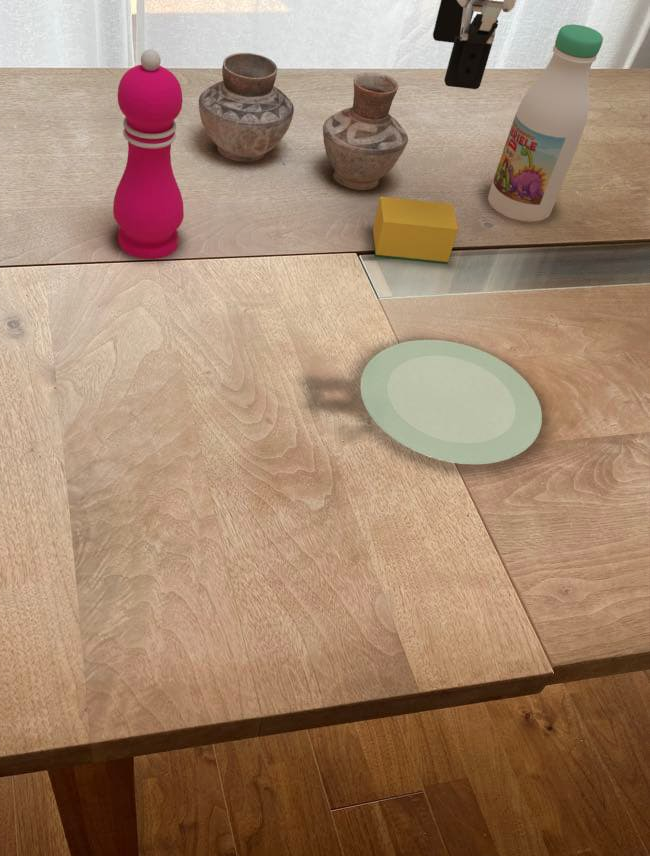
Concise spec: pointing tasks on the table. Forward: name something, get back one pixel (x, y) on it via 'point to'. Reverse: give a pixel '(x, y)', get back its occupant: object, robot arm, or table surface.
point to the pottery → (272, 114)
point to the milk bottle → (546, 129)
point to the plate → (451, 402)
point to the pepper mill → (149, 161)
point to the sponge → (414, 230)
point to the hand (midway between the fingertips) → (454, 62)
